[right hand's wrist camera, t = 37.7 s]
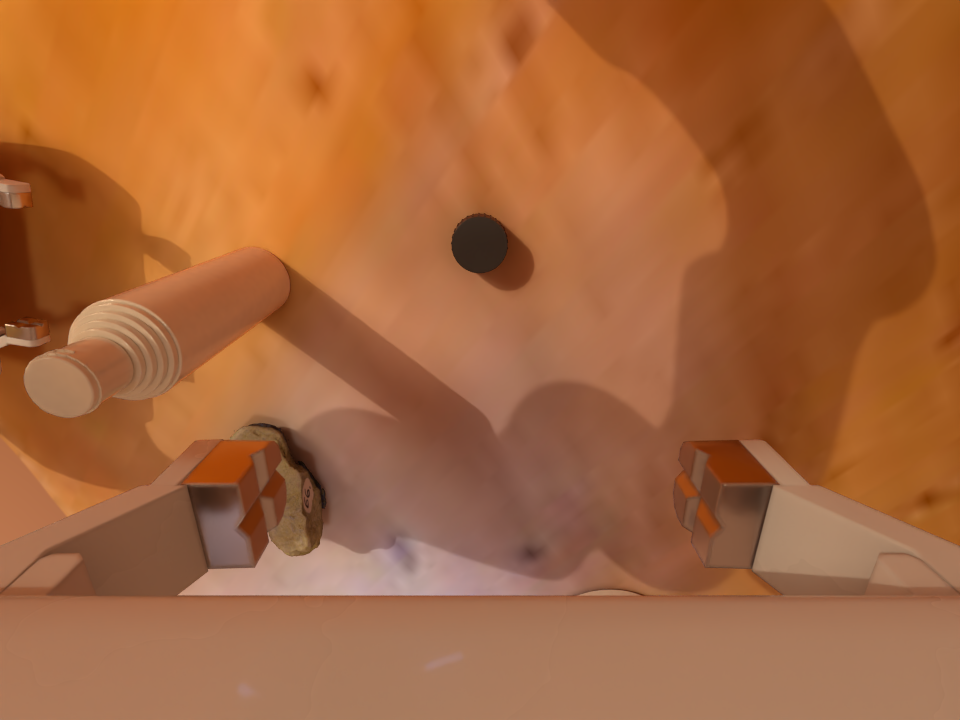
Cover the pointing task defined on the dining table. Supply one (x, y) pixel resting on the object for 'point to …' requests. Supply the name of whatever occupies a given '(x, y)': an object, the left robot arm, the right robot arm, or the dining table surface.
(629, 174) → the dining table surface
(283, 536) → the rock
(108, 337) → the bottle
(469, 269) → the cap
